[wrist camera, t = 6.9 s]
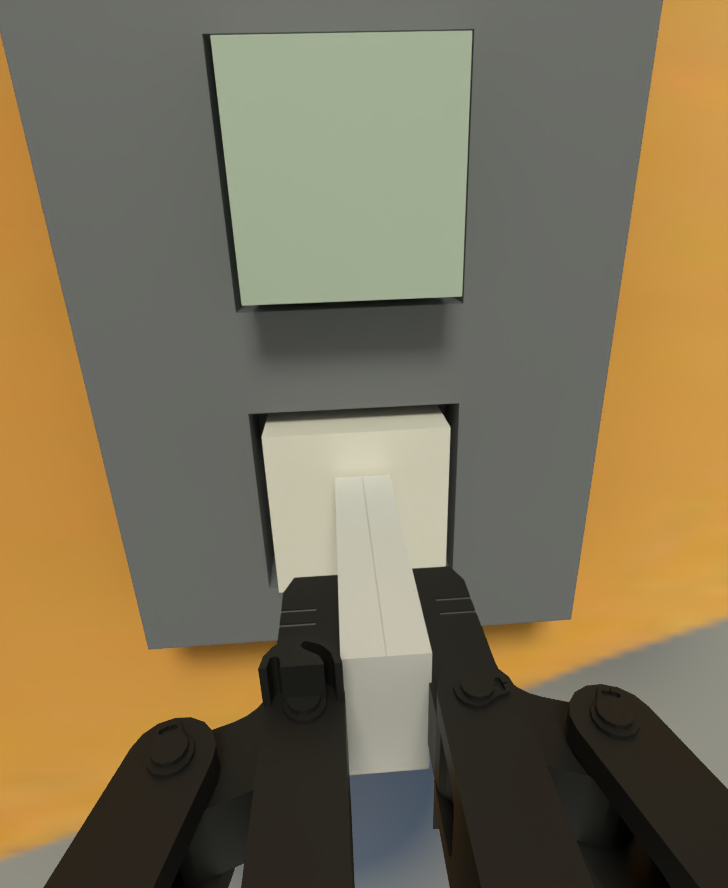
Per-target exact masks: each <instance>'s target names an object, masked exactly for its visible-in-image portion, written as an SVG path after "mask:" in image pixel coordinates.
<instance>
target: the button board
mask: <svg viewBox="0 0 728 888" xmlns="http://www.w3.org/2000/svg"><path fill="white" fill-rule="evenodd" d="M662 3H663V0H0V33H1V38H2V42H3V46H4V50H5V54H6V58H7V63H8V67H9V71H10V75H11V79H12V83H13V88H14V92H15V96H16V100H17V104H18V108H19V112H20V117H21V121H22V125H23V129H24V133H25V137H26V142H27V146H28V150H29V154H30V158H31V162H32V167H33V171H34V175H35V179H36V183H37V187H38V192H39V196H40V200H41V204H42V208H43V212H44V216H45V221H46V225H47V229H48V233H49V237H50V241H51V246H52V250H53V254H54V258H55V262H56V266H57V271H58V275H59V279H60V283H61V287H62V291H63V296H64V300H65V304H66V308H67V312H68V316H69V320H70V325H71V329H72V333H73V337H74V341H75V345H76V350H77V354H78V358H79V362H80V366H81V370H82V375H83V379H84V383H85V387H86V391H87V395H88V400H89V404H90V408H91V412H92V416H93V420H94V424H95V429H96V433H97V437H98V441H99V445H100V449H101V454H102V458H103V462H104V466H105V470H106V474H107V479H108V483H109V487H110V491H111V495H112V499H113V504H114V508H115V512H116V516H117V520H118V524H119V528H120V533H121V537H122V541H123V545H124V549H125V553H126V558H127V562H128V566H129V570H130V574H131V578H132V583H133V587H134V591H135V595H136V599H137V603H138V608H139V612H140V616H141V620H142V624H143V628H144V632H145V637H146V641H147V645H148V649H163V648H177V647H191V646H205V645H219V644H233V643H247V642H261V641H275V640H278V633H279V628H280V616H281V607H282V598H283V592H282V593H279V588H278V579H277V570H276V561H275V553H274V544H273V535H272V526H271V517H270V508H269V499H268V491H267V482H266V473H265V464H264V455H263V446H262V438H261V437H262V434H263V430H264V427H265V423H266V420H267V416H268V413H277V412H296V411H316V410H336V409H355V408H375V407H394V406H414V405H434V404H437V405H438V407H439V409H440V410H441V412H442V414H443V415H444V417H445V419H446V421H447V422H448V424H449V426H450V427H451V428H450V458H449V487H448V517H447V547H446V566H450V567H451V568H452V569H453V570H454V571H455V572H456V573H457V574H459V575H460V576H461V577H462V578H463V579H464V581H465V584H466V586H467V589H468V592H469V594H470V599H471V600H472V602H473V605H474V608H475V612H476V613H477V616H478V618H479V621H480V623H481V626H486V625H500V624H514V623H528V622H542V621H556V620H570V619H571V615H572V609H573V602H574V595H575V588H576V582H577V575H578V568H579V561H580V555H581V548H582V541H583V535H584V528H585V521H586V514H587V508H588V501H589V494H590V487H591V481H592V474H593V467H594V461H595V454H596V447H597V440H598V434H599V427H600V420H601V413H602V407H603V400H604V393H605V386H606V380H607V373H608V366H609V360H610V353H611V346H612V339H613V333H614V326H615V319H616V312H617V306H618V299H619V292H620V286H621V279H622V272H623V265H624V259H625V252H626V245H627V238H628V232H629V225H630V218H631V212H632V205H633V198H634V191H635V185H636V178H637V171H638V164H639V158H640V151H641V144H642V137H643V131H644V124H645V117H646V111H647V104H648V97H649V90H650V84H651V77H652V70H653V63H654V57H655V50H656V43H657V37H658V30H659V23H660V16H661V10H662ZM418 31H472V55H471V80H470V106H469V132H468V158H467V184H466V209H465V235H464V261H463V287H462V297H438V298H414V299H390V300H366V301H341V302H317V303H293V304H269V305H245V306H242V304H241V295H240V287H239V278H238V270H237V261H236V252H235V244H234V235H233V227H232V218H231V209H230V201H229V192H228V184H227V175H226V166H225V158H224V149H223V141H222V132H221V124H220V115H219V106H218V98H217V89H216V81H215V72H214V63H213V55H212V46H211V38H210V35H247V34H304V33H361V32H418Z"/></svg>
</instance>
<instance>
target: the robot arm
mask: <svg viewBox="0 0 728 888" xmlns="http://www.w3.org/2000/svg"><path fill="white" fill-rule="evenodd" d="M335 503H336V536H337V569H338V575H327V576H312V577H296V578H293V580H292V581H291V583H290V584H289V585H288V587H287V588H286V590H285V591H284V592H283V598H282V607H281V616H280V628H279V633H278V642H277V645H275V646H273V647H272V648H271V649H270V650H269V651H268V652H267V653H266V654H265V655H264V656H263V658H262V661H261V663H260V666H259V668H258V671H259V678H260V685H261V692H262V699H263V703H262V704H261V705H260V706H259V707H258V708H257V709H256V710H255V711H253V712H252V713H250V714H249V715H248V716H246V717H244V718H242V719H240V720H238V721H235V722H233V723H230V724H227V725H225V726H222V727H219V728H216V729H214V730H211V729H210V728H209V727H208V725H207V724H206V723H205V722H203V721H200V720H197V719H194V718H191V717H189V718H174V719H171V720H168V721H165V722H162V723H159V724H157V725H156V726H154V727H153V728H151V729H150V730H149V731H147V732H146V733H144V734H143V735H142V736H141V737H140V738H139V739H138V740H137V742H136V743H135V744H134V745H133V746H132V748H131V749H130V750H129V752H128V754H127V755H126V757H125V758H124V760H123V761H122V763H121V765H120V766H119V768H118V769H117V771H116V773H115V774H114V776H113V777H112V779H111V781H110V782H109V784H108V785H107V787H106V789H105V790H104V792H103V793H102V795H101V797H100V798H99V800H98V801H97V803H96V805H95V806H94V808H93V809H92V811H91V813H90V814H89V816H88V817H87V819H86V821H85V822H84V824H83V825H82V827H81V829H80V830H79V832H78V833H77V835H76V837H75V838H74V840H73V841H72V843H71V845H70V846H69V848H68V849H67V851H66V853H65V854H64V856H63V858H62V859H61V861H60V862H59V864H58V865H57V867H56V868H55V870H54V872H53V873H52V875H51V877H50V878H49V880H48V881H47V883H46V884H45V886H44V888H228V886H229V884H230V881H231V878H232V875H233V872H234V869H235V867H237V866H239V865H241V864H243V863H244V870H243V879H242V886H241V888H355V885H354V863H353V839H352V816H351V797H350V778H349V775H358V774H370V773H383V772H395V771H407V770H419V769H429V768H430V757H431V762H432V768H433V773H434V778H435V780H434V815H433V829H439V830H440V836H441V841H442V847H443V852H444V858H445V863H446V869H447V874H448V880H449V885H450V888H728V789H727V788H726V787H725V786H724V785H723V784H722V783H721V782H720V781H719V780H718V778H717V777H716V776H715V775H714V774H713V773H712V772H711V771H710V770H709V769H708V768H707V767H706V766H705V765H704V764H703V763H702V762H701V761H700V760H699V759H698V758H697V757H696V756H695V755H694V753H693V752H692V751H691V750H690V749H689V748H688V747H687V746H686V745H685V744H684V743H683V742H682V741H681V740H680V739H679V738H678V737H677V736H676V735H675V734H674V732H672V730H671V729H670V728H669V727H668V726H667V725H666V724H665V723H664V722H663V721H662V720H661V719H660V718H659V717H658V716H657V715H656V714H655V713H654V712H653V711H652V710H651V708H649V706H647V705H646V704H645V703H644V702H642V701H641V700H640V699H639V698H637V697H636V696H635V695H633V694H631V693H629V692H627V691H624V690H622V689H620V688H618V687H612V686H607V685H603V684H598V685H590V686H585V687H583V688H581V689H580V690H578V691H576V692H575V693H574V695H573V697H572V698H571V700H570V702H565V701H560V700H555V699H550V698H545V697H540V696H537V695H534V694H530V693H528V692H526V691H524V690H521V689H519V688H517V687H516V686H515V685H514V684H513V683H512V681H511V680H510V678H509V677H508V676H507V675H506V674H504V673H503V672H502V671H501V670H499V669H498V667H497V665H496V663H495V661H494V658H493V655H492V653H491V650H490V647H489V645H488V642H487V639H486V637H485V634H484V631H483V629H482V626H481V623H480V621H479V618H478V616H477V613H476V612H475V608H474V605H473V602H472V600H471V599H470V594H469V592H468V589H467V586H466V584H465V581H464V579H463V578H462V577H461V576H460V575H459V574H457V573H456V572H455V571H454V570H453V569H452V568H451V567H450V566H444V567H429V568H413V569H412V567H411V562H410V558H409V554H408V550H407V546H406V542H405V538H404V533H403V529H402V525H401V521H400V517H399V513H398V508H397V504H396V500H395V496H394V492H393V488H392V483H391V479H390V475H375V476H357V477H339V478H335Z"/></svg>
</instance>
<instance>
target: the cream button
mask: <svg viewBox="0 0 728 888" xmlns="http://www.w3.org/2000/svg"><path fill="white" fill-rule="evenodd" d="M450 428H451V427H450V426H449V424H448V422H447V421H446V419H445V417H444V415H443V414H442V412H441V410H440V409H439V407H438V405H437V404H434V405H414V406H394V407H375V408H355V409H336V410H316V411H296V412H277V413H268V416H267V420H266V423H265V427H264V430H263V434H262V437H261V438H262V446H263V455H264V464H265V473H266V482H267V491H268V499H269V508H270V517H271V526H272V535H273V544H274V553H275V561H276V570H277V579H278V588H279V593H282V592H284V591H285V590H286V588H287V587H288V585H289V584H290V583H291V581H292V580H293V578H296V577H312V576H327V575H338V569H337V536H336V503H335V478H339V477H357V476H375V475H390V479H391V483H392V488H393V492H394V496H395V500H396V504H397V508H398V513H399V517H400V521H401V525H402V529H403V533H404V538H405V542H406V546H407V550H408V554H409V558H410V562H411V567H412V569H413V568H429V567H444V566H446V547H447V517H448V487H449V458H450Z"/></svg>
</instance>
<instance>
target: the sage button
mask: <svg viewBox="0 0 728 888" xmlns="http://www.w3.org/2000/svg"><path fill="white" fill-rule="evenodd" d="M210 38H211V46H212V55H213V63H214V72H215V81H216V89H217V98H218V106H219V115H220V124H221V132H222V141H223V149H224V158H225V166H226V175H227V184H228V192H229V201H230V209H231V218H232V227H233V235H234V244H235V252H236V261H237V270H238V278H239V287H240V295H241V304H242V306H245V305H269V304H293V303H317V302H341V301H366V300H390V299H414V298H438V297H462V287H463V261H464V235H465V209H466V184H467V158H468V132H469V106H470V80H471V55H472V31H418V32H361V33H304V34H247V35H210Z"/></svg>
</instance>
